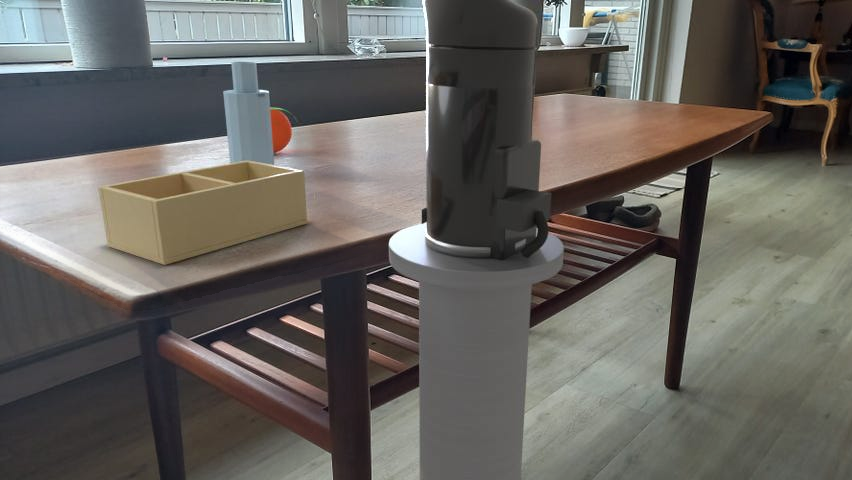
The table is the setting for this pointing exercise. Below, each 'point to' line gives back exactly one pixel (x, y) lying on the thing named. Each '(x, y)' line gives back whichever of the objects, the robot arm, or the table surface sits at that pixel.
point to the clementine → (280, 129)
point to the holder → (202, 209)
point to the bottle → (248, 117)
